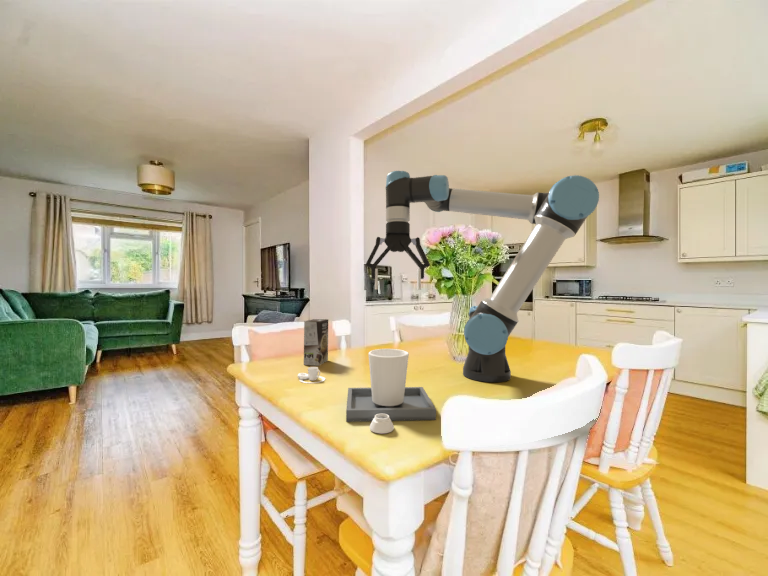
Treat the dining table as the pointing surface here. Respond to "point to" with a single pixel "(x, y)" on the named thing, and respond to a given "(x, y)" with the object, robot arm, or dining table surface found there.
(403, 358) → the cup
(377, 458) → the dining table surface
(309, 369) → the teacup and saucer
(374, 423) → the lidless jar
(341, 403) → the dining table surface
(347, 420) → the tray
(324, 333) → the coffee box
